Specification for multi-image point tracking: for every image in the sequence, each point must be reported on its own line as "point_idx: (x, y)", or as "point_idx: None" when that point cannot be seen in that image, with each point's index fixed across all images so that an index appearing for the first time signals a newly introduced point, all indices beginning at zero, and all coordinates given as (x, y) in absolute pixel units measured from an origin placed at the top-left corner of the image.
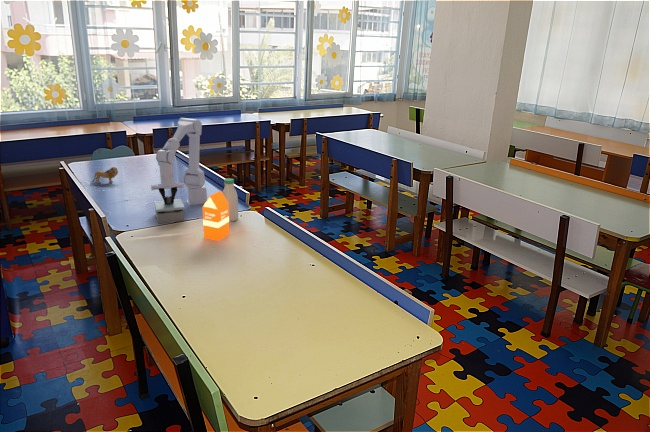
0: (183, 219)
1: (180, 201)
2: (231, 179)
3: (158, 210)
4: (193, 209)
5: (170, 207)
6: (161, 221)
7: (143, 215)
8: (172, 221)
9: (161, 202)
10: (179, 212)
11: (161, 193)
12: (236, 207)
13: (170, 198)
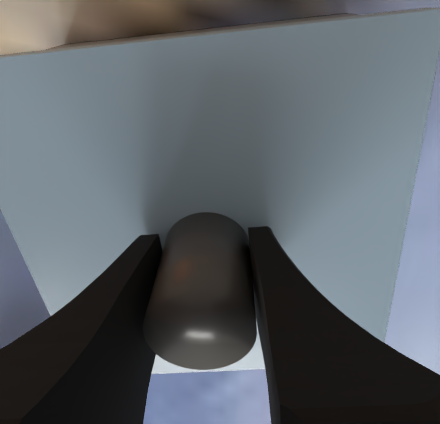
0: (65, 45)
1: (64, 301)
2: None
3: (397, 13)
4: (44, 307)
5: (180, 91)
6: (313, 19)
7: (422, 266)
8: (188, 32)
9: None
10: None
11: (388, 362)
12: None
13: (163, 287)
